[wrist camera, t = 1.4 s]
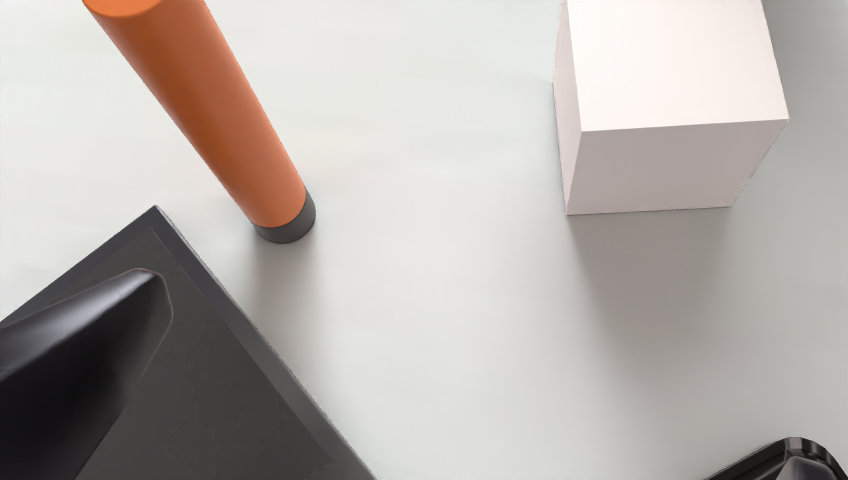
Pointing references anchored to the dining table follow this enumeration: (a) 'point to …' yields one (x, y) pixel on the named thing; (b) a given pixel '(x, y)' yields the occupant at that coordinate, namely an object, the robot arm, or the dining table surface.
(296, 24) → the dining table surface
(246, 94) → the stylus
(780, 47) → the dining table surface
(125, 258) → the tablet
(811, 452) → the phone
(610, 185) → the adhesive note
